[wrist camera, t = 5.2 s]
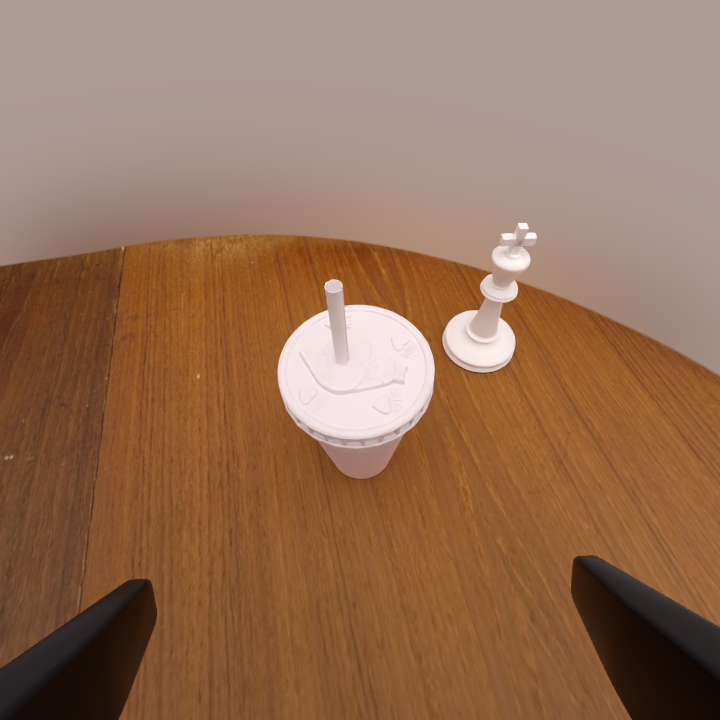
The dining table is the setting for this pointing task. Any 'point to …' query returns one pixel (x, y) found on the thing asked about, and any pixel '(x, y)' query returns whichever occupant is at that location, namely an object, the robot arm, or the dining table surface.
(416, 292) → the dining table surface
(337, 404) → the smoothie
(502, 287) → the chess piece
